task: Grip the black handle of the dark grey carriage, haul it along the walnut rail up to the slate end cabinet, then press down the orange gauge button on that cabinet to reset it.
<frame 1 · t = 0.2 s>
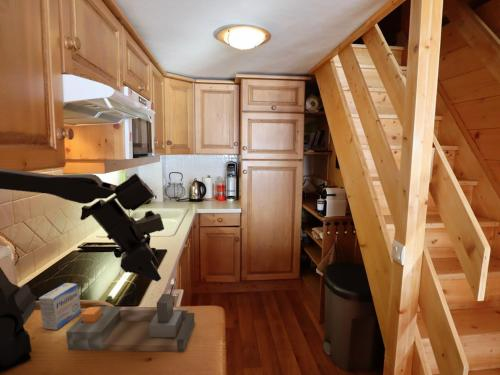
hand: (158, 272, 68), 15 cm above the worktop, tool tilted 30°, fingers open, 9 cm apart
carriage: (165, 314, 67), point 6 cm above the worktop, slide at 0.0 cm
medicine box: (63, 321, 75), on the worktop
gauge button: (92, 317, 68), point 5 cm above the worktop, slide at 0.0 cm
rail: (142, 335, 68), on the worktop
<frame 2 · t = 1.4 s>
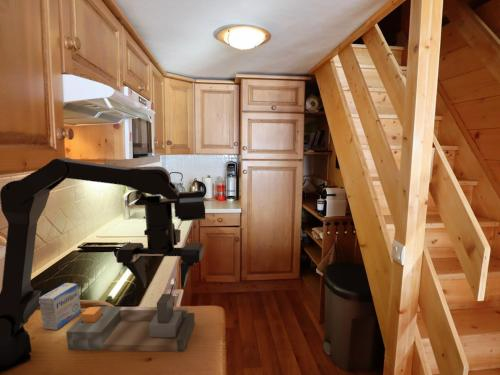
hand: (163, 287, 66), 13 cm above the worktop, tool pointing down, fingers open, 9 cm apart
nothing on the worktop moved.
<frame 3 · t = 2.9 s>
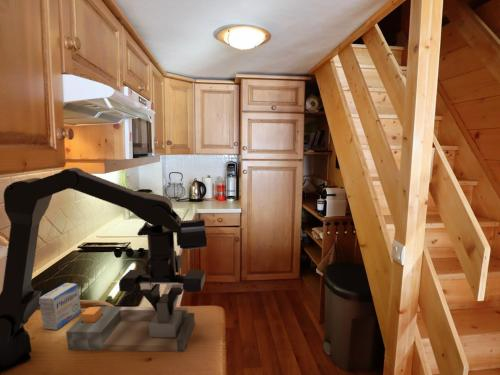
hand: (165, 313, 67), 6 cm above the worktop, tool pointing down, fingers closed on carriage, 2 cm apart
carriage: (165, 314, 67), point 6 cm above the worktop, slide at 0.0 cm, touching gripper
everything else where it was.
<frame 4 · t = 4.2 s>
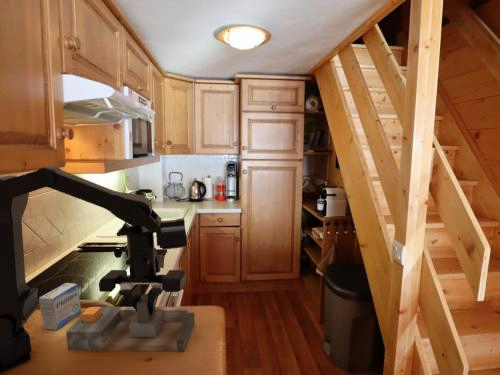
hand: (146, 313, 67), 6 cm above the worktop, tool pointing down, fingers closed on carriage, 2 cm apart
carriage: (146, 313, 67), point 6 cm above the worktop, slide at 4.7 cm, touching gripper
everything else where it was.
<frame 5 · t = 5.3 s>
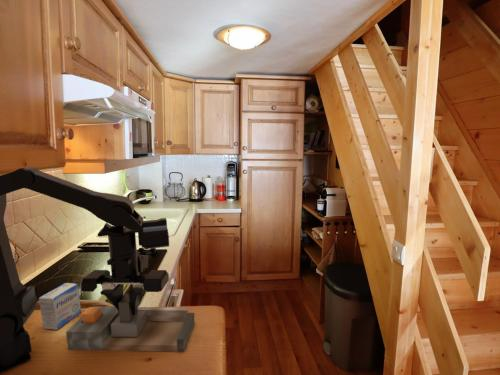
hand: (128, 313, 67), 6 cm above the worktop, tool pointing down, fingers closed on carriage, 2 cm apart
carriage: (128, 313, 67), point 6 cm above the worktop, slide at 8.9 cm, touching gripper
everything else where it was.
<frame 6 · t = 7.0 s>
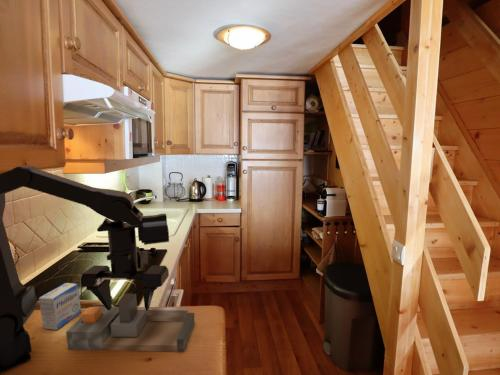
hand: (128, 309, 67), 7 cm above the worktop, tool pointing down, fingers open, 9 cm apart
carriage: (128, 313, 67), point 6 cm above the worktop, slide at 9.0 cm
everything else where it was.
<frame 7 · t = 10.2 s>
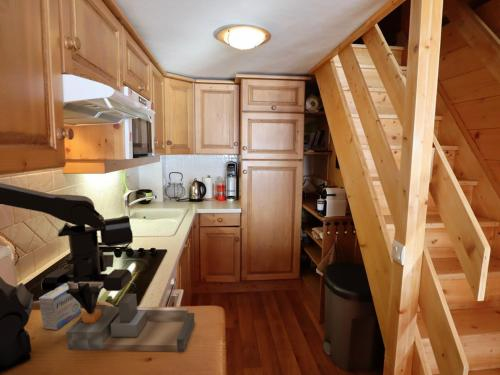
hand: (91, 312, 68), 6 cm above the worktop, tool pointing down, fingers closed, pressing on gauge button
gauge button: (92, 319, 68), point 4 cm above the worktop, slide at 0.5 cm, touching gripper
everything else where it was.
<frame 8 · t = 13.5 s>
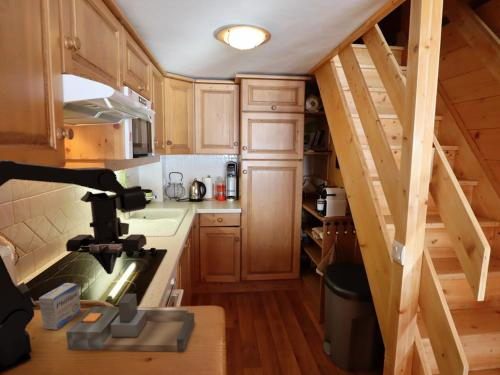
hand: (110, 273, 75), 12 cm above the worktop, tool pointing down, fingers closed
gauge button: (92, 323, 68), point 3 cm above the worktop, slide at 1.6 cm
everything else where it was.
at the end: carriage slide at 9.0 cm; gauge button slide at 1.6 cm; the gripper is holding nothing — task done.
